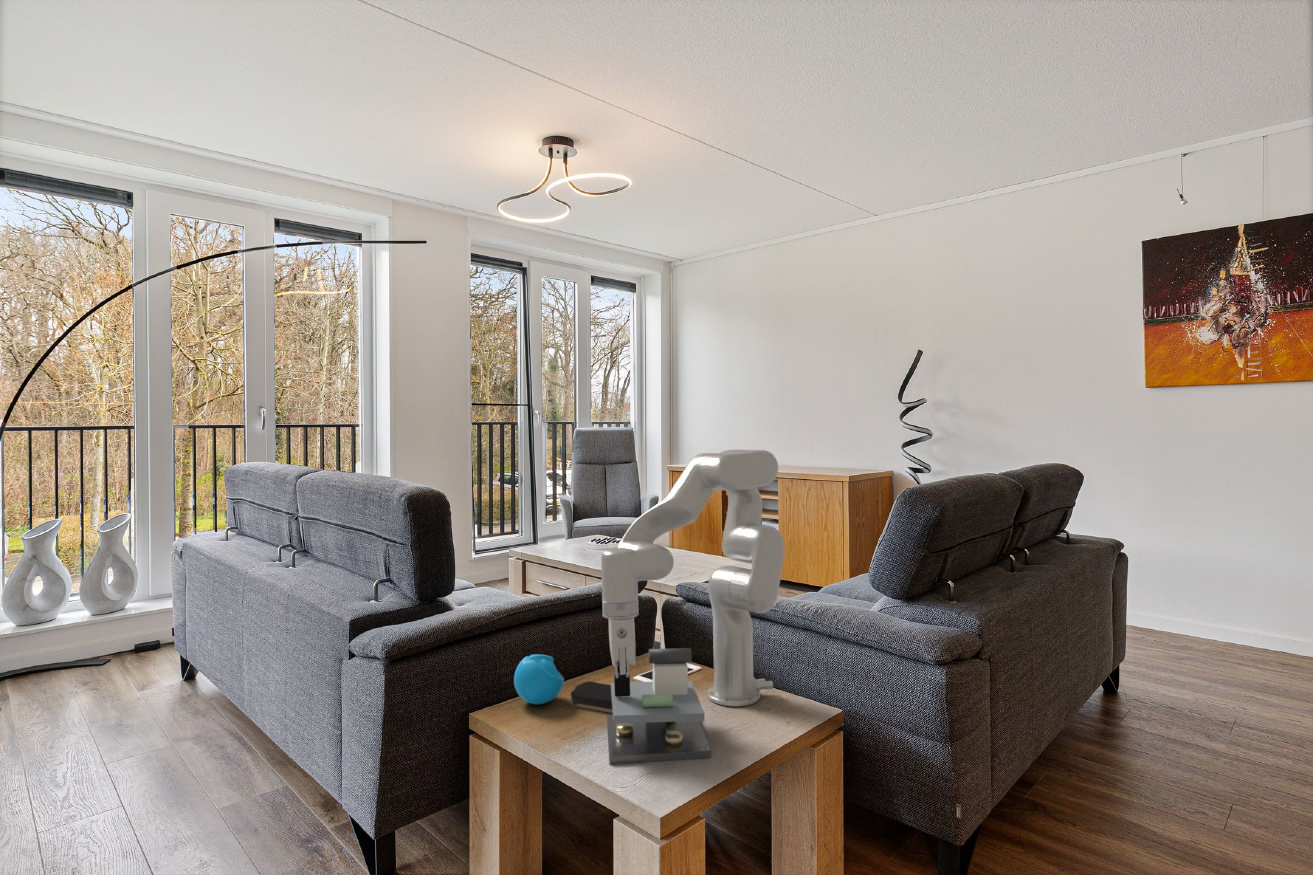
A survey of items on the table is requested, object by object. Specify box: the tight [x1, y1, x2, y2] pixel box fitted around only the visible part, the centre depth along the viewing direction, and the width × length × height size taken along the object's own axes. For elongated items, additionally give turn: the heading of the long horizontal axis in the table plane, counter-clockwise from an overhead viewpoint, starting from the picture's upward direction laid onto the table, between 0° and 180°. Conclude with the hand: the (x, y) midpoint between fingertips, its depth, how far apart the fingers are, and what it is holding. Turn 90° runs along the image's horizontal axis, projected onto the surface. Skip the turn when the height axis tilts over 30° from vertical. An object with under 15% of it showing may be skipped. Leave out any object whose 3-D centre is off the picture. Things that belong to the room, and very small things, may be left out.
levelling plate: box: [610, 647, 705, 723], centre depth 143 cm, size 18×18×12 cm
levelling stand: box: [606, 713, 712, 765], centre depth 143 cm, size 20×20×5 cm
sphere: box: [513, 654, 565, 705], centre depth 164 cm, size 12×11×12 cm
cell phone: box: [633, 663, 702, 682], centre depth 182 cm, size 9×18×1 cm, turn 137°
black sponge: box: [570, 681, 613, 714], centre depth 162 cm, size 16×8×4 cm, turn 64°
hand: (622, 694), depth 143 cm, fingers closed
